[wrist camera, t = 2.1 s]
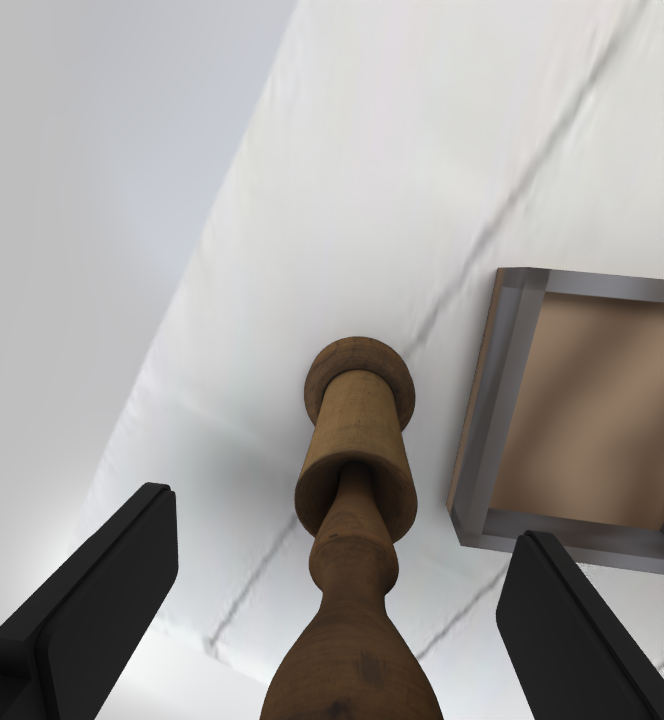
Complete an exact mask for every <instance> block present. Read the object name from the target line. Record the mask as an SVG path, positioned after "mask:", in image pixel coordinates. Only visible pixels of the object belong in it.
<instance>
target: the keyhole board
mask: <svg viewBox="0 0 664 720" xmlns="http://www.w3.org/2000/svg"><path fill="white" fill-rule="evenodd" d="M446 506H447V509H448V512H449V515H450V517H451V520H452V523H453V526H454V528H455V531H456V534H457V537H458V540H459V542H460V545H461V546H466V547H473V548H480V549H487V550H494V551H501V552H508V553H513V551H514V548H515V544H516V541H517V538H518V536H519V535H523V534H524V532H525V531H526V530H534V531H542V532H550V533H552V534H553V535H554V536H555V537H556V538H557V539H558V540H559V542H560V543H561V544H562V546H563V547H564V548H565V550H566V551H567V552H568V554H569V555H570V556H571V558H572V559H573V560H574V561H575V562H579V563H586V564H593V565H600V566H607V567H614V568H621V569H628V570H635V571H642V572H649V573H656V574H663V575H664V280H663V279H652V278H641V277H630V276H619V275H608V274H597V273H586V272H575V271H564V270H553V269H542V268H532V267H514V268H498V272H497V277H496V281H495V286H494V290H493V295H492V300H491V304H490V309H489V313H488V318H487V322H486V327H485V331H484V336H483V340H482V345H481V349H480V354H479V359H478V363H477V368H476V372H475V377H474V381H473V386H472V390H471V395H470V399H469V404H468V408H467V413H466V417H465V422H464V427H463V431H462V436H461V440H460V445H459V449H458V454H457V458H456V463H455V467H454V472H453V476H452V481H451V486H450V490H449V495H448V499H447V504H446Z"/></svg>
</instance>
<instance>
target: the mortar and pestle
mask: <svg viewBox="0 0 664 720" xmlns="http://www.w3.org/2000/svg"><path fill="white" fill-rule="evenodd" d="M304 401H305V407H306V410H307V413H308V415H309V418H310V419H311V421H312V423H313V424H314V426H315V430H314V433H313V436H312V440H311V443H310V446H309V449H308V452H307V455H306V458H305V461H304V464H303V467H302V470H301V473H300V476H299V479H298V482H297V485H296V488H295V496H294V501H295V509H296V513H297V516H298V518H299V520H300V522H301V523H302V525H303V526H304V528H305V529H306V530H307V531H308V532H309V533H310V534H311V535H312V536H313V537H315V541H314V544H313V547H312V550H311V553H310V557H309V571H310V574H311V577H312V579H313V581H314V583H315V584H316V586H317V587H318V588H319V589H320V590H321V591H322V592H323V598H322V601H321V605H320V609H319V611H318V613H317V614H316V616H315V617H314V618H313V620H312V621H311V622H310V623H309V625H308V626H307V627H306V628H305V630H304V631H303V632H302V634H301V635H300V637H299V638H298V639H297V641H296V642H295V643H294V645H293V646H292V647H291V649H290V650H289V652H288V653H287V654H286V656H285V657H284V659H283V661H282V662H281V664H280V666H279V668H278V669H277V671H276V673H275V675H274V677H273V679H272V681H271V684H270V686H269V688H268V691H267V694H266V697H265V700H264V704H263V707H262V711H261V715H260V720H444V719H443V715H442V712H441V709H440V706H439V703H438V701H437V698H436V695H435V693H434V691H433V689H432V686H431V684H430V682H429V680H428V678H427V677H426V675H425V673H424V671H423V670H422V668H421V666H420V665H419V663H418V661H417V660H416V658H415V657H414V655H413V654H412V652H411V650H410V649H409V647H408V646H407V644H406V643H405V641H404V639H403V638H402V636H401V635H400V633H399V632H398V630H397V629H396V627H395V626H394V624H393V623H392V621H391V620H390V619H389V617H388V616H387V613H386V609H385V595H386V594H387V593H388V592H389V591H390V590H391V589H392V588H393V587H394V585H395V583H396V581H397V578H398V573H399V564H398V559H397V555H396V552H395V549H394V545H393V544H394V543H395V542H397V541H398V540H400V539H401V538H402V537H403V536H404V535H405V534H406V533H407V532H408V531H409V529H410V528H411V526H412V525H413V523H414V521H415V517H416V513H417V506H418V503H417V495H416V491H415V487H414V483H413V479H412V475H411V471H410V468H409V464H408V460H407V456H406V452H405V447H404V443H403V439H402V434H401V432H402V431H403V430H404V429H405V427H406V426H407V424H408V423H409V421H410V419H411V417H412V414H413V411H414V407H415V389H414V384H413V381H412V378H411V376H410V373H409V370H408V368H407V366H406V364H405V363H404V361H403V360H402V358H401V357H400V356H399V355H398V354H397V353H396V352H395V351H394V350H393V349H392V348H391V347H389V346H388V345H386V344H384V343H382V342H380V341H378V340H375V339H372V338H368V337H348V338H343V339H340V340H338V341H335V342H333V343H331V344H330V345H328V346H327V347H326V348H324V349H323V350H322V351H321V352H320V353H319V355H318V356H317V357H316V359H315V360H314V362H313V364H312V366H311V368H310V371H309V373H308V375H307V378H306V382H305V387H304Z"/></svg>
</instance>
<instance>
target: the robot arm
mask: <svg viewBox="0 0 664 720" xmlns="http://www.w3.org/2000/svg"><path fill="white" fill-rule="evenodd" d="M177 574H178V541H177V516H176V495H175V492H174V491H171V489H170V486H169V485H167V484H159V483H151V482H147V483H145V484H144V485H142V486H141V487H140V488H139V489H138V490H137V491H136V492H135V493H134V494H133V495H132V496H131V497H130V498H129V499H128V500H127V501H126V502H125V503H124V505H123V506H122V507H121V508H120V509H119V510H118V511H117V512H116V513H115V514H114V515H113V516H112V517H111V518H110V519H109V520H108V521H107V522H106V523H105V524H104V525H103V526H102V527H101V528H100V529H99V530H98V531H97V532H96V533H94V534H93V535H92V536H91V537H89V538H88V539H87V540H86V541H85V542H84V543H83V544H82V545H81V546H80V547H79V548H78V549H77V550H76V551H75V552H74V553H73V554H72V555H71V556H70V557H69V558H68V559H67V560H66V561H65V562H64V563H63V564H62V565H61V566H60V567H59V568H58V569H57V570H56V571H55V572H54V573H53V574H52V575H51V576H50V577H49V578H48V579H47V580H46V581H45V582H44V583H43V584H42V585H41V586H40V587H39V588H38V589H37V590H36V591H35V592H34V593H33V594H32V595H31V596H30V597H29V598H28V599H27V600H26V601H25V602H24V603H23V604H22V605H21V606H20V607H19V608H18V609H17V610H16V611H15V612H14V613H13V614H12V615H11V616H10V617H9V618H8V619H7V620H6V621H5V622H4V623H3V624H2V625H1V626H0V720H94V719H95V718H96V716H97V714H98V712H99V711H100V709H101V707H102V706H103V704H104V702H105V700H106V699H107V697H108V695H109V694H110V692H111V690H112V688H113V687H114V685H115V683H116V682H117V680H118V678H119V676H120V674H121V673H122V671H123V670H124V668H125V666H126V664H127V662H128V661H129V659H130V658H131V656H132V654H133V652H134V651H135V649H136V647H137V646H138V644H139V642H140V640H141V639H142V637H143V635H144V633H145V632H146V630H147V628H148V627H149V625H150V623H151V622H152V620H153V618H154V616H155V615H156V613H157V611H158V610H159V608H160V606H161V604H162V603H163V601H164V599H165V598H166V596H167V594H168V592H169V591H170V589H171V587H172V586H173V584H174V582H175V580H176V577H177ZM496 622H497V626H498V629H499V632H500V634H501V637H502V639H503V642H504V644H505V647H506V649H507V652H508V654H509V657H510V659H511V662H512V664H513V667H514V669H515V672H516V674H517V677H518V679H519V682H520V684H521V687H522V689H523V691H524V694H525V696H526V699H527V701H528V704H529V706H530V709H531V711H532V714H533V716H534V719H535V720H664V679H663V678H662V676H661V675H660V674H659V672H658V671H657V670H656V668H655V667H654V666H653V664H652V663H651V662H650V660H649V659H648V658H647V656H646V655H645V654H644V653H643V651H642V650H641V649H640V647H639V646H638V645H637V643H636V642H635V641H634V639H633V638H632V637H631V635H630V634H629V633H628V631H627V630H626V629H625V627H624V626H623V625H622V623H621V622H620V621H619V620H618V618H617V617H616V616H615V614H614V613H613V612H612V610H611V609H610V608H609V606H608V605H607V604H606V602H605V601H604V600H603V598H602V597H601V596H600V594H599V593H598V592H597V591H596V589H595V588H594V587H593V585H592V584H591V583H590V581H589V580H588V579H587V577H586V576H585V575H584V573H583V572H582V571H581V569H580V568H579V567H578V565H577V564H576V563H575V561H574V560H573V559H572V558H571V556H570V555H569V554H568V552H567V551H566V550H565V548H564V547H563V546H562V544H561V543H560V542H559V540H558V539H557V538H556V537H555V536H554V535H553V534H552V533H550V532H542V531H534V530H526V531H525V532H524V534H523V535H519V536H518V538H517V541H516V544H515V548H514V551H513V555H512V558H511V561H510V565H509V568H508V572H507V575H506V578H505V582H504V585H503V589H502V592H501V596H500V599H499V602H498V606H497V609H496Z"/></svg>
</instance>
